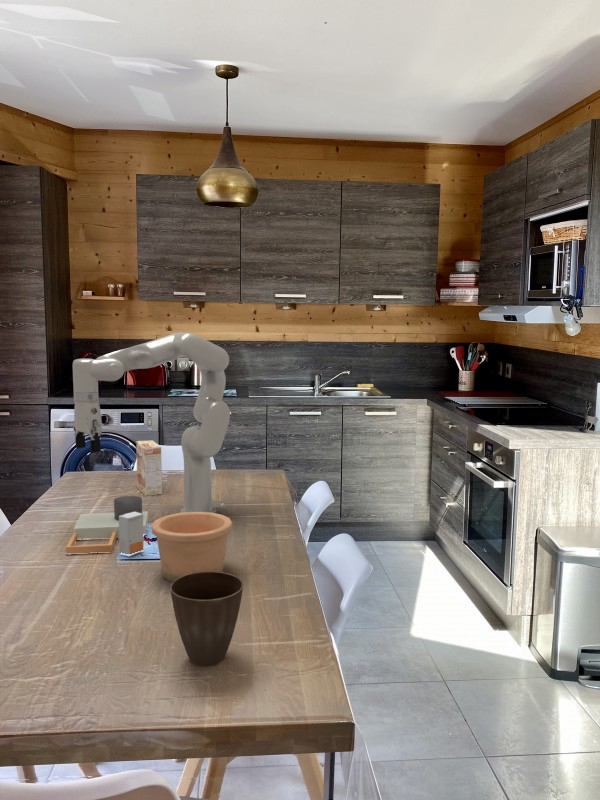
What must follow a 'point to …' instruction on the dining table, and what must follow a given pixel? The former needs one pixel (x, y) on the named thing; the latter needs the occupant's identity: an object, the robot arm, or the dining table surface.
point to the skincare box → (131, 533)
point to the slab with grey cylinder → (104, 525)
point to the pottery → (191, 543)
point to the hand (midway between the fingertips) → (88, 449)
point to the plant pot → (206, 613)
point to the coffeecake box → (149, 467)
